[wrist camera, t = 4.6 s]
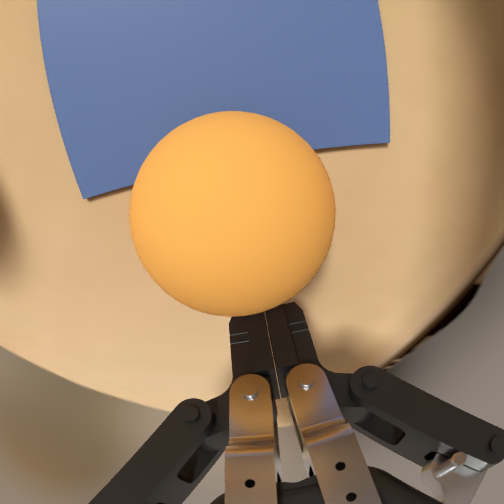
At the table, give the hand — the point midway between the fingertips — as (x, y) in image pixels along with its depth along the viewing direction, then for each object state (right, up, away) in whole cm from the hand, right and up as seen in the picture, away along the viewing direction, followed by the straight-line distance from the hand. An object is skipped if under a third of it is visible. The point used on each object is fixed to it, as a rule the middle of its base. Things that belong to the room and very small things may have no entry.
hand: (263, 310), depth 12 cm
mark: (-2, +11, -6) cm, 12 cm away
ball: (-1, +4, -4) cm, 5 cm away
